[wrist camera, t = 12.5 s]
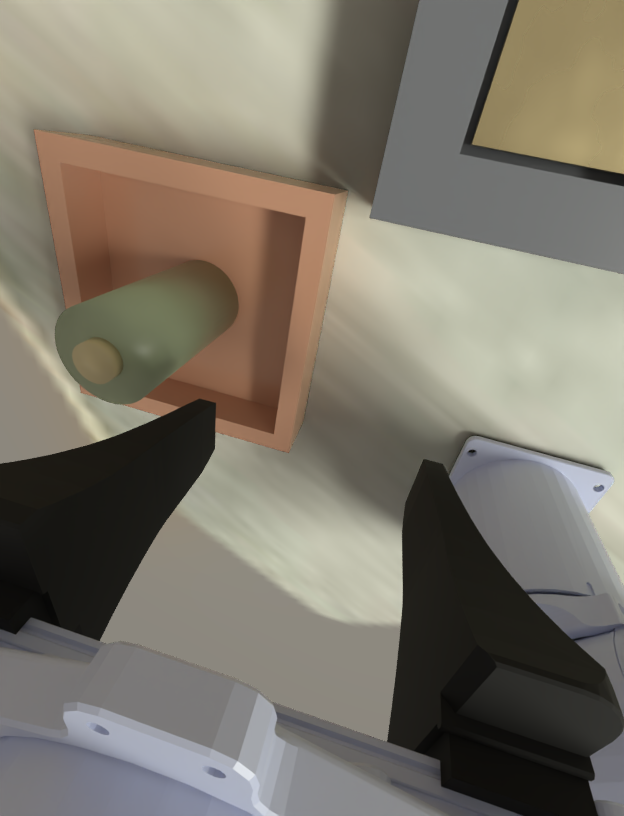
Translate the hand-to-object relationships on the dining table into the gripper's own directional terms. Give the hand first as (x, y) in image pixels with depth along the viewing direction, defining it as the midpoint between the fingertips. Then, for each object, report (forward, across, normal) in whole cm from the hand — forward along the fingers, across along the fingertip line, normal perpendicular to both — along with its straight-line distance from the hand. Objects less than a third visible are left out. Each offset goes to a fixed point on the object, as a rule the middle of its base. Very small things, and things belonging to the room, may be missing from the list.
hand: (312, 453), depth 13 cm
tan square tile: (+8, -6, -13) cm, 16 cm away
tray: (+10, +8, -1) cm, 13 cm away
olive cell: (+9, +8, -1) cm, 12 cm away
